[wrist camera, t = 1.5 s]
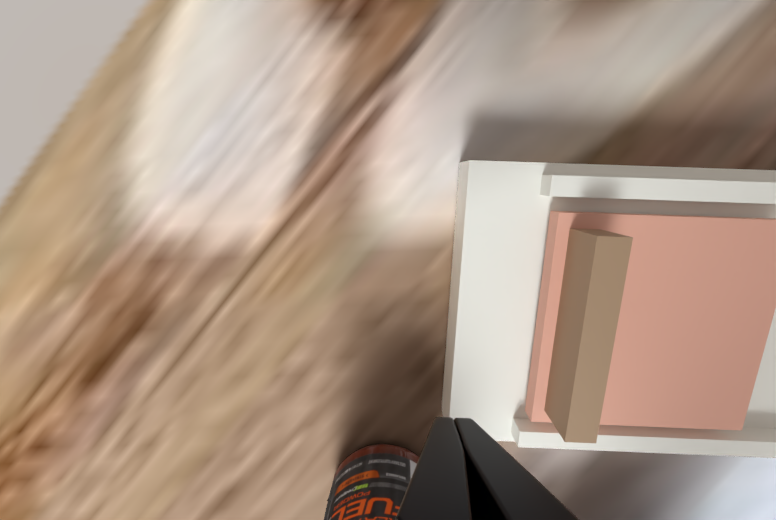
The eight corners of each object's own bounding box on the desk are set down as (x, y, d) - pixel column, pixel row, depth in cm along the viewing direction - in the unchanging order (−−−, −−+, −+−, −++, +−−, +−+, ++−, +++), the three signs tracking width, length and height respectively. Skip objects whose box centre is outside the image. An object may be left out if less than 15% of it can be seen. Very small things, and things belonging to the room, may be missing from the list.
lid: (725, 418, 17) (789, 465, 14) (524, 410, 17) (549, 454, 14) (778, 218, 15) (864, 227, 12) (550, 210, 15) (584, 217, 12)
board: (887, 426, 20) (986, 476, 16) (441, 408, 20) (450, 453, 17) (979, 179, 17) (1121, 180, 14) (459, 162, 17) (474, 158, 14)
